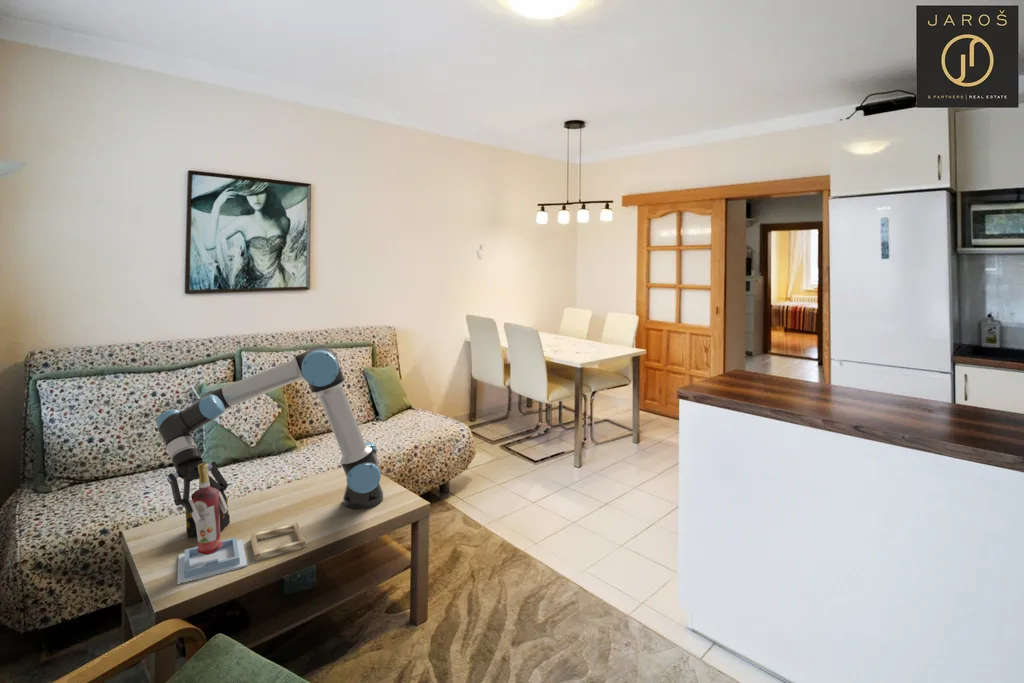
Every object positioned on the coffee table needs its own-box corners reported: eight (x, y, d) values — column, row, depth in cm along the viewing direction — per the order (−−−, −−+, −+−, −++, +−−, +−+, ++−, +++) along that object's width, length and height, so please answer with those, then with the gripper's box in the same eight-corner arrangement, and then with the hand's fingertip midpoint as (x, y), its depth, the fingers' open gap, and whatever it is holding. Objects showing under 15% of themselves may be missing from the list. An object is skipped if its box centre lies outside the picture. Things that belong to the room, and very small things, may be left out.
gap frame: (298, 528, 181) (297, 522, 181) (305, 547, 169) (305, 541, 168) (250, 540, 174) (250, 534, 173) (255, 560, 161) (254, 554, 161)
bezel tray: (242, 540, 173) (241, 531, 173) (247, 566, 158) (246, 555, 158) (178, 556, 164) (177, 546, 164) (177, 585, 149) (176, 574, 148)
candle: (201, 524, 185) (199, 497, 184) (230, 523, 186) (228, 496, 185) (186, 538, 175) (183, 510, 174) (217, 537, 176) (214, 509, 175)
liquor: (228, 544, 164) (221, 460, 161) (215, 557, 157) (208, 468, 153) (205, 545, 164) (197, 460, 160) (191, 557, 157) (183, 469, 153)
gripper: (214, 451, 174) (242, 509, 167) (145, 469, 158) (172, 535, 151) (221, 439, 170) (249, 498, 163) (150, 456, 154) (178, 523, 147)
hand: (212, 516), depth 157 cm, fingers closed on liquor, 7 cm apart
